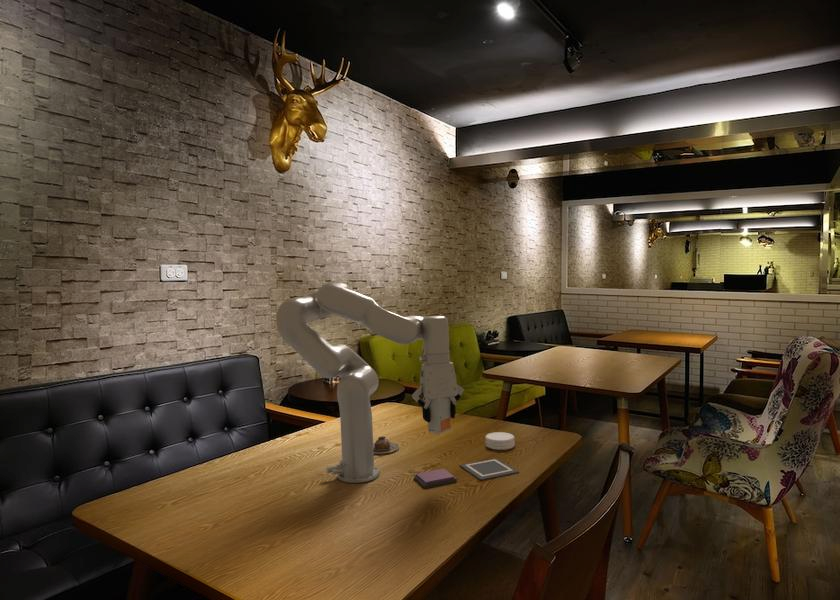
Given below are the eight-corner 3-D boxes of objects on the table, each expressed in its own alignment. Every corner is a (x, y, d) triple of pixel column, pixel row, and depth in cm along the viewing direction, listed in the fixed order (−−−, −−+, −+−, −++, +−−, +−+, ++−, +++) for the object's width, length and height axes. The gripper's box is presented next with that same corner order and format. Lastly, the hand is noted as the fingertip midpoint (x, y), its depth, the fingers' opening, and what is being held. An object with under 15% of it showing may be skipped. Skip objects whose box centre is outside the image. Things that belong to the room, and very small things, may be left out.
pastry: (398, 456, 178) (397, 442, 178) (362, 457, 178) (362, 443, 178) (399, 444, 190) (399, 431, 190) (366, 445, 190) (365, 432, 190)
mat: (480, 480, 154) (480, 478, 154) (460, 466, 166) (459, 464, 166) (518, 472, 159) (518, 470, 159) (496, 459, 171) (496, 457, 171)
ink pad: (424, 488, 149) (424, 483, 149) (414, 478, 157) (413, 473, 157) (456, 481, 153) (456, 476, 153) (444, 472, 161) (444, 467, 161)
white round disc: (513, 441, 189) (513, 431, 189) (515, 450, 179) (515, 440, 179) (485, 441, 190) (485, 431, 190) (485, 450, 180) (485, 440, 180)
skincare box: (439, 434, 151) (438, 393, 151) (427, 432, 154) (426, 391, 153) (452, 429, 156) (450, 388, 155) (440, 427, 159) (438, 387, 158)
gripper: (413, 363, 147) (416, 426, 148) (469, 357, 154) (472, 418, 155) (404, 360, 154) (407, 420, 155) (458, 354, 161) (460, 412, 162)
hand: (439, 418), depth 155 cm, fingers closed on skincare box, 7 cm apart
